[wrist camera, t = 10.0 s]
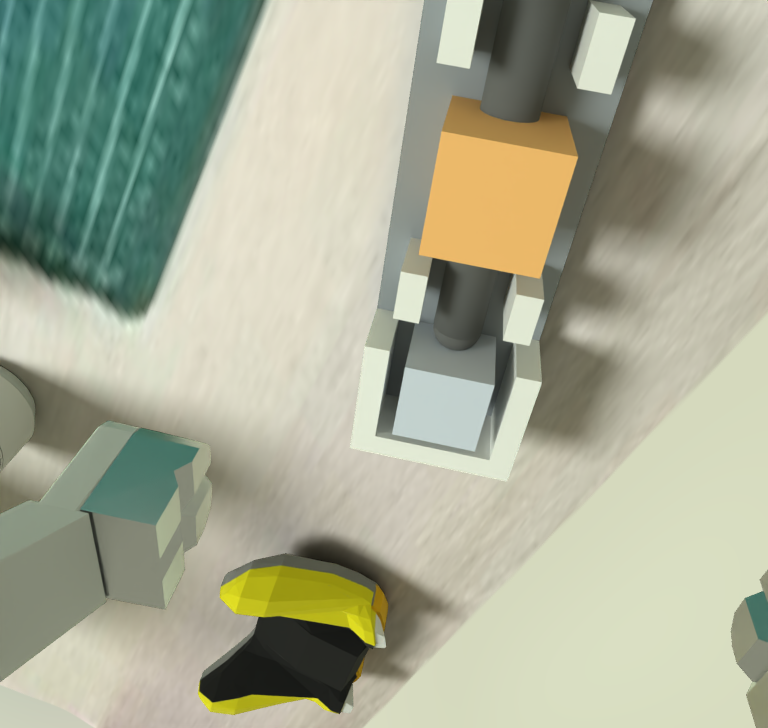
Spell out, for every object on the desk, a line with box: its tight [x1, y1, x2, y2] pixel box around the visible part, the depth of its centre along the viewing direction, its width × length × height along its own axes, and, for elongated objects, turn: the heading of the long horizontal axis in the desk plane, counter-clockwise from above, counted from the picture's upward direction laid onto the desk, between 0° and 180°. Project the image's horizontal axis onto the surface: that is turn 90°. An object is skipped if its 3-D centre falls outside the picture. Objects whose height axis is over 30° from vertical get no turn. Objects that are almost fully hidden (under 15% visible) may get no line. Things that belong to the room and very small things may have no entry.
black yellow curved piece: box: [198, 553, 388, 715], centre depth 41 cm, size 15×6×10 cm
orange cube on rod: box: [392, 0, 578, 452], centre depth 23 cm, size 18×4×4 cm, turn 172°
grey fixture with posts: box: [350, 0, 653, 481], centre depth 24 cm, size 22×7×4 cm, turn 172°
